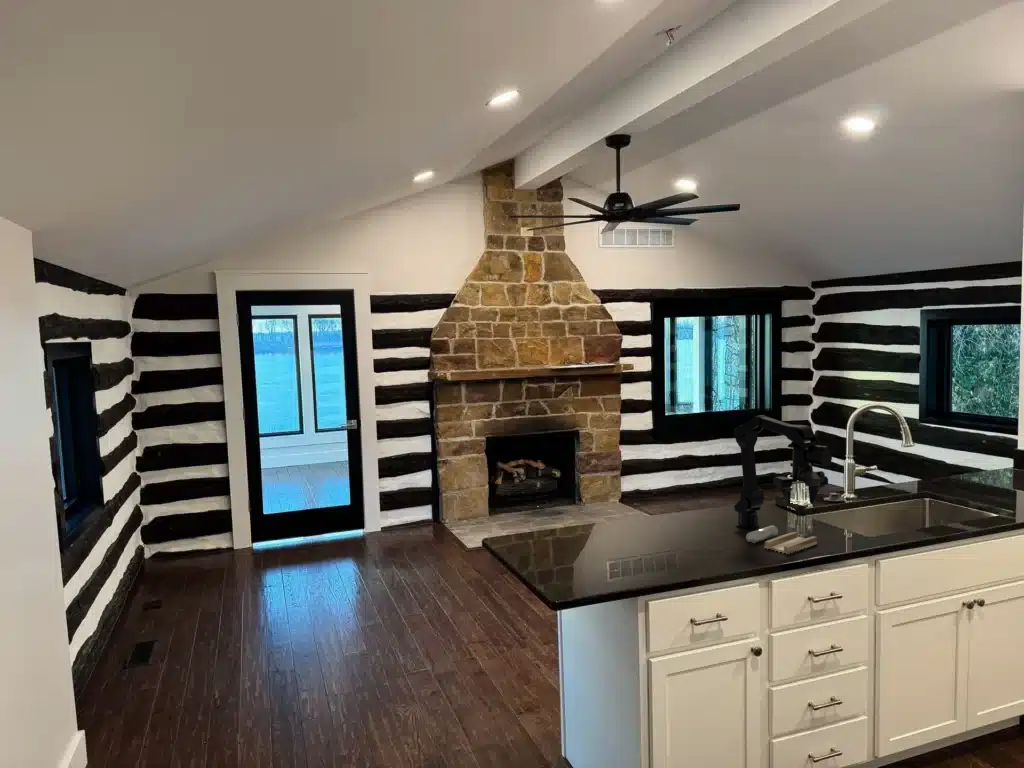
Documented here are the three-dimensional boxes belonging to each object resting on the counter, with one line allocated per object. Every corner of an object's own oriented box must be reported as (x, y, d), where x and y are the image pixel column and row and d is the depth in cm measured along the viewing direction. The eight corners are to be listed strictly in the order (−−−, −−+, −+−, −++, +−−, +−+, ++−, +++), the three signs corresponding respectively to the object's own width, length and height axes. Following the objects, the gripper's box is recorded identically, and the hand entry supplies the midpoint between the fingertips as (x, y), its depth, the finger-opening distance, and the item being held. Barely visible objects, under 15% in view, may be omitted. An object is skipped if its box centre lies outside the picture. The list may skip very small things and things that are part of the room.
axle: (755, 545, 260) (755, 534, 259) (745, 542, 263) (746, 531, 262) (777, 537, 268) (778, 527, 267) (768, 534, 271) (768, 524, 271)
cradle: (764, 548, 254) (764, 541, 254) (793, 538, 265) (793, 531, 265) (787, 554, 247) (788, 547, 247) (816, 543, 258) (816, 537, 258)
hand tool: (805, 514, 298) (805, 503, 298) (796, 515, 297) (796, 503, 297) (781, 503, 317) (781, 493, 316) (772, 504, 316) (773, 493, 316)
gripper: (791, 467, 249) (790, 512, 250) (839, 464, 253) (837, 508, 254) (772, 461, 260) (771, 504, 261) (818, 458, 264) (817, 500, 265)
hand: (800, 504), depth 260 cm, fingers open, 9 cm apart
